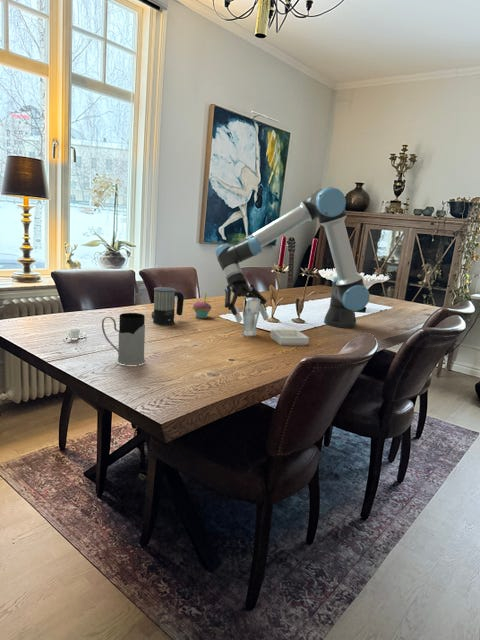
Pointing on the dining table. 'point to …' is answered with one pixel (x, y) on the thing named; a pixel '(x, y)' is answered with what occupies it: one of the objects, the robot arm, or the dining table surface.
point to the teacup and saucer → (76, 333)
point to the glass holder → (130, 338)
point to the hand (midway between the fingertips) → (253, 320)
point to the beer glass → (250, 316)
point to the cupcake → (202, 308)
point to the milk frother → (166, 305)
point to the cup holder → (289, 337)
